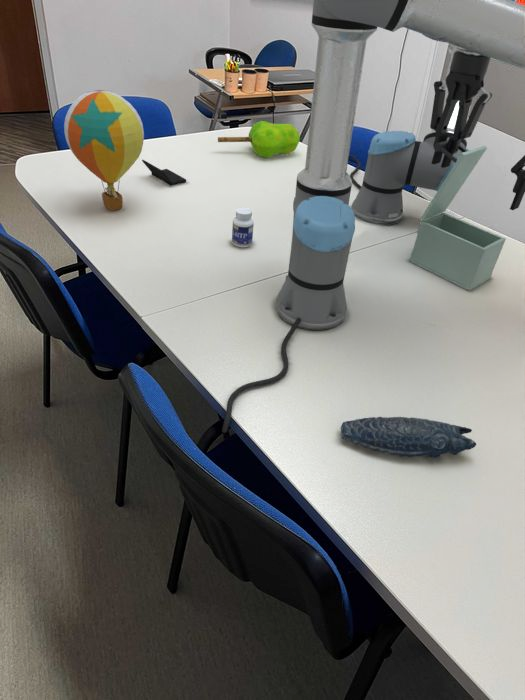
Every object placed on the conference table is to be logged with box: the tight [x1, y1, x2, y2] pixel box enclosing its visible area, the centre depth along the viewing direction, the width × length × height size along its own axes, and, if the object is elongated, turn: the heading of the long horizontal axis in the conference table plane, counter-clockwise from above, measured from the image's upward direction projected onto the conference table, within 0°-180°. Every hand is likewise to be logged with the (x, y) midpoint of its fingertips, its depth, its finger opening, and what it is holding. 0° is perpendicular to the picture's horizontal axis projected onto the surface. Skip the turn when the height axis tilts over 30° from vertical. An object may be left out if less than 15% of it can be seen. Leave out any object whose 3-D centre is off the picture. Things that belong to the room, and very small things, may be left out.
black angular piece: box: [141, 159, 187, 187], centre depth 162 cm, size 12×7×10 cm
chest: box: [409, 212, 507, 291], centre depth 129 cm, size 17×10×11 cm, turn 42°
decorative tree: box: [217, 120, 301, 159], centre depth 187 cm, size 18×10×30 cm
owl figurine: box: [340, 416, 477, 458], centre depth 82 cm, size 7×21×5 cm, turn 84°
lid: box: [420, 140, 488, 221], centre depth 124 cm, size 18×10×8 cm
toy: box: [63, 89, 145, 212], centre depth 136 cm, size 20×20×30 cm
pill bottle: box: [231, 207, 255, 248], centre depth 132 cm, size 5×5×9 cm
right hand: (440, 164), depth 123 cm, fingers closed on lid, 2 cm apart
